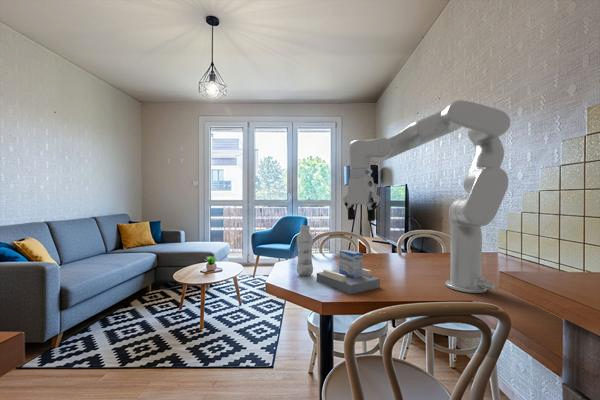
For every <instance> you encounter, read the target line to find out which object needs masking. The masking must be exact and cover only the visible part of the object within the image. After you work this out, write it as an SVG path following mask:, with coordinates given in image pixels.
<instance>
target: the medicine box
mask: <svg viewBox="0 0 600 400" xmlns="http://www.w3.org/2000/svg"><path fill="white" fill-rule="evenodd" d="M338 254H339V255H338V256H339V257H338V258H339V261H338V264H339V266H338V269H339V273H340V274H343V275H346V276H349V277H352V278H358V277H362V272H363V269H364V268H363V263H364V257H363V256H364V255H363V253H362V252H359V251H354V250H349V249H341V250H339V253H338Z"/></svg>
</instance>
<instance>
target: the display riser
mask: <svg viewBox="0 0 600 400" xmlns="http://www.w3.org/2000/svg"><path fill="white" fill-rule="evenodd" d="M380 280H381V279H380V278H378V277H376V276H372V270H371V269H366V268H363V272H362V277H358V278H352V277H349V276H346V275H343V274H340V273H339V268H337V269H332V270H330V269H327V268H326V269H323V271H321V272H316V282H318V283H320V284H323V285H326V286H328V287H329V288H330V287H331V288H333V289H335V290H336V289H337V290H338V291H341V292H344V293H347V294H349V295H353V294H359V293H361V292H366V291H369V290H370V291H371V290H374V289H378V288H380V284H381V281H380Z"/></svg>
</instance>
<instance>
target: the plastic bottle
mask: <svg viewBox="0 0 600 400" xmlns="http://www.w3.org/2000/svg"><path fill="white" fill-rule="evenodd" d="M310 228H311V226H310V225H303V224H302V225H300V228H299V229H300V232H299V233H298V235H297V236H296V245H297V246H296V247H297V264H296V273H297V275H298V276H302V277H307V276H308V277H309V276H312V275H313V272H314V265H313V259H312V258H313V257H312V251H313V242H314V239H313V236H312V234H311V232H310V230H311V229H310Z"/></svg>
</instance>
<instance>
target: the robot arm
mask: <svg viewBox="0 0 600 400" xmlns="http://www.w3.org/2000/svg"><path fill="white" fill-rule="evenodd" d="M510 126H511V118H510V116H509V115H508V114H507V113H506V112H505V111H503V110H501V109H498V108H495V107H491V106H487V105H484V104H481V103H476V102H472V101H468V100H464V99H463V100H455V101H453V102H451V103H450V104H448V105H447V106H446V107H445V108H444V109H441V110H440V111H437V112H434V113H432V114H430V115H428V116H426V117H423V118H422V119H419V120H416V121H414V122H412V123H411V124H409V125H408V126H406V127H405V128H404V129H403V130H401V131H399V132H398V133H396V134H394V135H393V136H391V137H388V138H387V137H378V138H371V139H356V140H353V141H351V142H350V143H349V149H348V150H349V178H348V184H347V195H345V196H344V197H343V198H342V202H343V203H344V206H345V208H346V210H347V219H348V220H349V221H352V220H356V210H355V206H356V205H366V207H367V221H368V222H374V221H376V210H377V208H378V206H379V203H380V201H381V196H379V195H377V194H376V188H375V182H374V177H372V175H371V174H372V173H373V170H372V169H371V159H372V161H374V162H378V163H379V162H381V163H382V162H384V161H386V160H389V159H391V158H394V157H397V156H398V155H401V154H403V153H405V152H408V151H410V150H412V149H416V148H418V147H420V146H422V145H424V144H427V143H430V142H431V141H434V140H436V139H438V138H441V137H443V136H446V135H448V134H451V133H452V132H455V131H457V130H459V129H460V128H462V127H463V128H464V129H465V128H466V129H467V136H468V139H469V140H470V141H471V143H472V144H473V146H474V149H475V150H474V151H475V154H474V156H473V159H472V162H471V165H469V166H470V167H469V169H468V172H467V174H466V175H465V178H464V180H463V188H464V190H465V192H466V193H468V194H469V195H468V196H467V197H460V198H458V199H455V200H453V202H452V203H451V204H450V206H449V208H448V220H449V221H448V222H449V226H450V227H449V228H450V262H449V265H450V267H449V270H450V273H449V274H450V275H449V276H450V277H449V278H450V279H448V280H446V281H445V286H446V287H447V288H449V289H451V290H453V291H454V290H455V291H459V292H464V293H470V294H471V293H472V294H483V293H486V292H487V291H488V290H495V288H496V285H495V283H494V282H492V281H487V280H486V279H485V278H486V277H485V276H484V275H483V273H482V269H483V268H482V264H483V261H482V260H483V259H482V258H483V257H482V256H483V237H482V235H483V234H482V229H481V227H482V228H483V227H485V226H488V225H489V224H490V223H491V222H492V221H493V220H494V219H495V218H496V216H497V213H498V212H499V209H500V206H501V204H502V202H503V199H504V198H505V195H506V193H507V190H508V187H509V176H508V174H507V173H506V171H505V170H504V169H503V168H502V164H503V161H504V157H505V148H504V144H503V142H502V140H501V139H500V137H501V136H503V135H504V134H505V133H507V132H508V130H510V129H509V128H510Z"/></svg>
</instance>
